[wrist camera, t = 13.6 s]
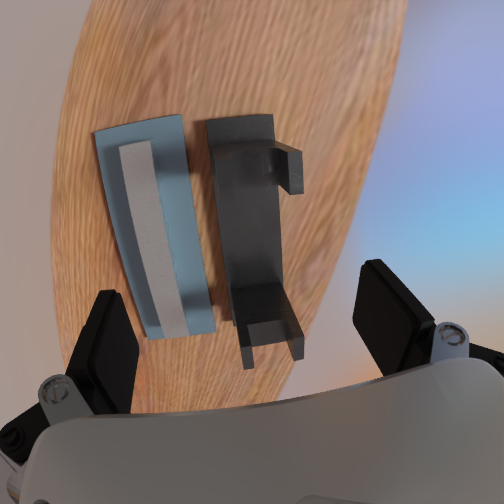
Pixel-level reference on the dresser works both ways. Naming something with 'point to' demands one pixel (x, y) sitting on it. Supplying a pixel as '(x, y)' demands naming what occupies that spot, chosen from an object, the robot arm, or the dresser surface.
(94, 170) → the dresser surface
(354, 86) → the dresser surface
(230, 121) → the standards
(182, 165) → the mat
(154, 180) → the rail
